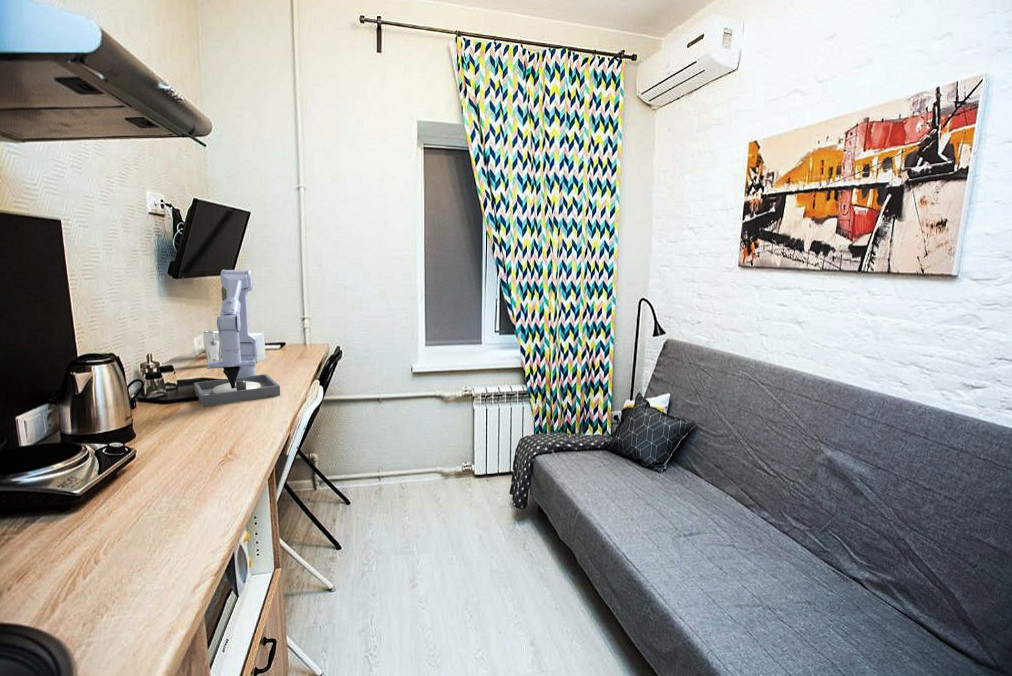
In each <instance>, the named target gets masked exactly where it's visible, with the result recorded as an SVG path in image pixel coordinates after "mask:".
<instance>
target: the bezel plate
mask: <svg viewBox="0 0 1012 676" xmlns="http://www.w3.org/2000/svg"><path fill="white" fill-rule="evenodd" d="M240 380H245V381H248V382H257V383H259V384H260V387H261V388H254V389H247V390H239V391H232V392H225V393H217V394H213V388H214V387H216V386H218V385H222V384H226V383H230V382H229V380H228V378H222V379H215V380H214V379H213V380H206V381H200V382H199V381H198V382H193V385H194V386H193V387H194V392H195V391H196V393H197V395H198V397H199V399H198V401H199V402H200V404H201V406H202V407H209V406H215V405H223V404H229V403H236V402H243V401H244V402H245V401H248V400H256V399H263V397H264V398H269V396H271V397H276V395H278V396H281V386H280V384H278V383H277V382H276V381H275V380H274V379H273V378H272V377H270V376H269V374H267V373H264V374H256V375H254V376H246V377H238V378H236V381H240ZM196 393H195V394H196ZM197 395H196V396H197ZM198 397H197V398H198Z"/></svg>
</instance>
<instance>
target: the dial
mask: <svg viewBox="0 0 1012 676" xmlns="http://www.w3.org/2000/svg"><path fill="white" fill-rule="evenodd" d="M254 388H261V387H260V384H259V383H257V382H248V381H245V380H240V381H236V383H235V388H234V389H231V385H230V383H226V384H222V385H218V386H216V387H214V388H213V394H217V393H225V392H232V391H239V390H247V389H254Z"/></svg>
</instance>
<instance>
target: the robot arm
mask: <svg viewBox="0 0 1012 676" xmlns="http://www.w3.org/2000/svg"><path fill="white" fill-rule="evenodd" d="M220 282H221V285H222V286H223V287H224V288H225V289H226V290H227V299H225V300H222V302H221V308H220V316H217V317H216V327H217V331H218V333H219V337H220V342H221V360H222V361H220V362H210V363H207V362H206V369H207V370H211V369H213V370H214V369H223V370H222V373H223V374H224V375H225V377H226V379H228V380H229V382H230V385H231V389H234V388H235V383H236V378H238V377H246V376H254V375H257V373H256V365H257V363H256V361H255V357H257V356H258V343H257V339H256V337H255V336H253V335H251V334H250V333H251V332H250V331H249V330H250V329H249V315H248V314H249V312H248V298H247V297H248V292H251V291H253V287H254V285H253V284H254V283H253V273H252V271H251V270H250V269H247V270H246V269H245V270H244V269H222V270H221V271H220ZM242 341H250V342H242Z"/></svg>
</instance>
